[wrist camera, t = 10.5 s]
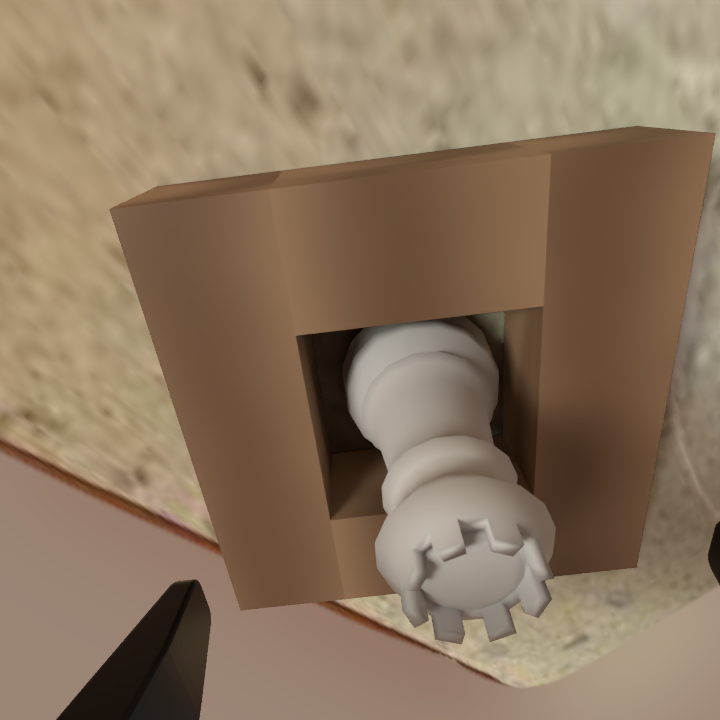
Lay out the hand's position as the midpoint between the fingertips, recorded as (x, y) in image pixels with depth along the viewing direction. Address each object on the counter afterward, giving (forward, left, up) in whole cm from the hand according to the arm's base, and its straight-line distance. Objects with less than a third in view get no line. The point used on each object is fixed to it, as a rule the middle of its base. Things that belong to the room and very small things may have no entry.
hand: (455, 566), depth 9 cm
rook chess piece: (0, 0, -8) cm, 8 cm away
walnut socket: (0, 0, -7) cm, 7 cm away
